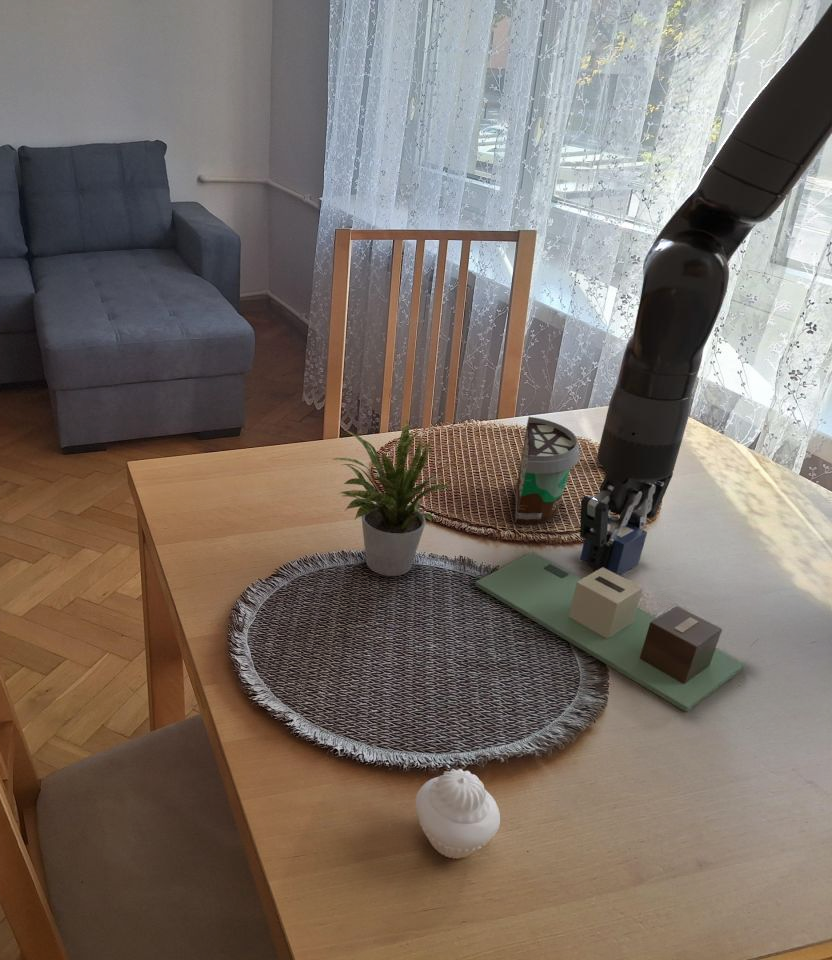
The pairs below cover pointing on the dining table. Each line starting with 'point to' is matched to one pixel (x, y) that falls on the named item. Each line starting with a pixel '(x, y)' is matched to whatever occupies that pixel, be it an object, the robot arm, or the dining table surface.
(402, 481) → the house plant
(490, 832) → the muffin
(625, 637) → the green board
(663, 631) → the walnut block
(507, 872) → the dining table surface
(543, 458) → the food container
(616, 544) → the navy block
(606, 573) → the cream block
